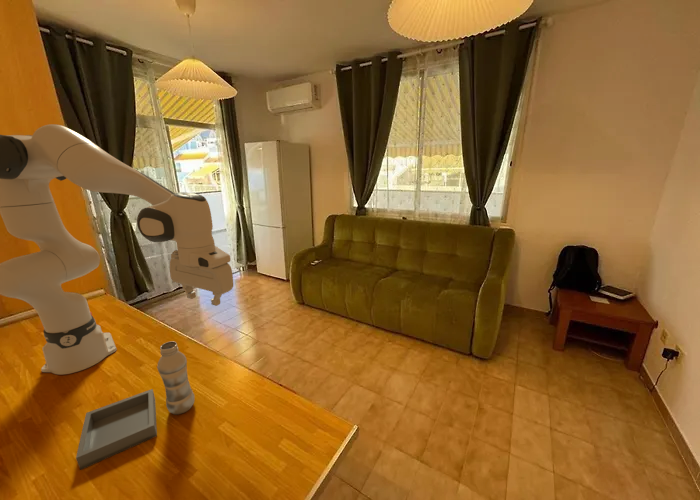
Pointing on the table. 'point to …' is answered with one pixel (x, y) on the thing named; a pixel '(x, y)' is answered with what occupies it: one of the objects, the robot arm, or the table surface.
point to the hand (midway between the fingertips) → (203, 301)
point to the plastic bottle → (175, 378)
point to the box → (117, 428)
